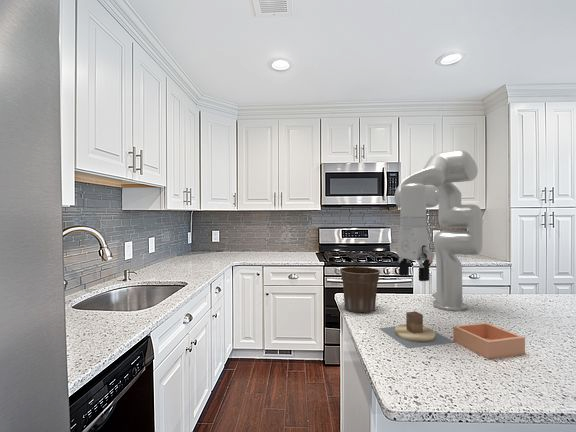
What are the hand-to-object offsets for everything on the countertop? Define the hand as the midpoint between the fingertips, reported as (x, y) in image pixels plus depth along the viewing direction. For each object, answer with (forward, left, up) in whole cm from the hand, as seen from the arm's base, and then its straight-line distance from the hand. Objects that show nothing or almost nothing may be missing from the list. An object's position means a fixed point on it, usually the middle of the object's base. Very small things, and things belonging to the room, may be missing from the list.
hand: (413, 277), depth 95 cm
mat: (0, 0, -19) cm, 19 cm away
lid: (0, 0, -18) cm, 18 cm away
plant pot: (-31, -3, -19) cm, 36 cm away
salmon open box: (+13, +14, -19) cm, 27 cm away
